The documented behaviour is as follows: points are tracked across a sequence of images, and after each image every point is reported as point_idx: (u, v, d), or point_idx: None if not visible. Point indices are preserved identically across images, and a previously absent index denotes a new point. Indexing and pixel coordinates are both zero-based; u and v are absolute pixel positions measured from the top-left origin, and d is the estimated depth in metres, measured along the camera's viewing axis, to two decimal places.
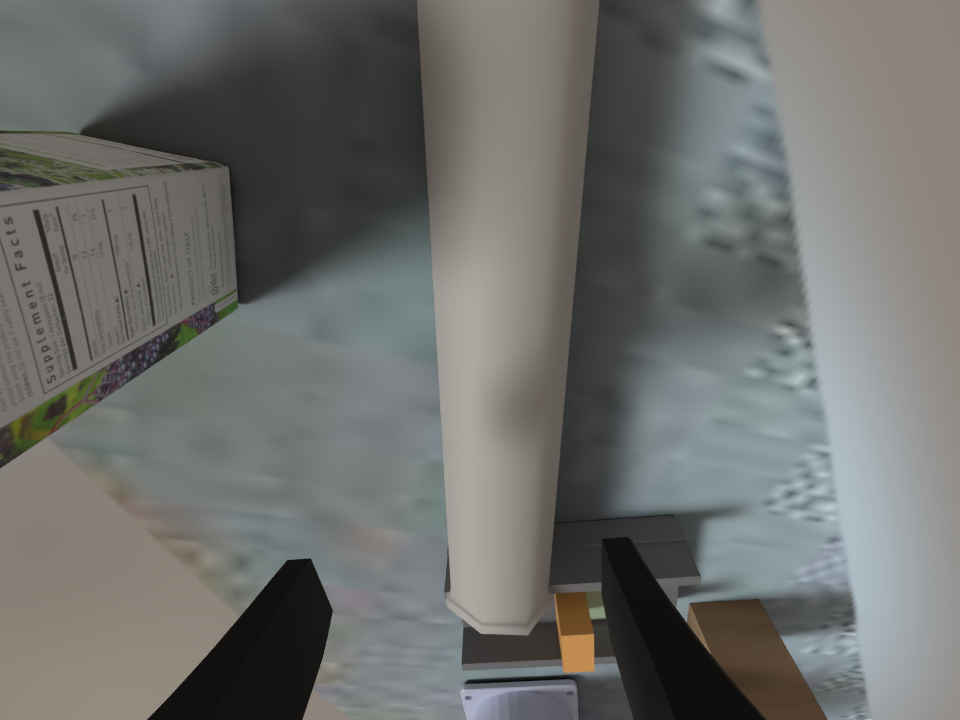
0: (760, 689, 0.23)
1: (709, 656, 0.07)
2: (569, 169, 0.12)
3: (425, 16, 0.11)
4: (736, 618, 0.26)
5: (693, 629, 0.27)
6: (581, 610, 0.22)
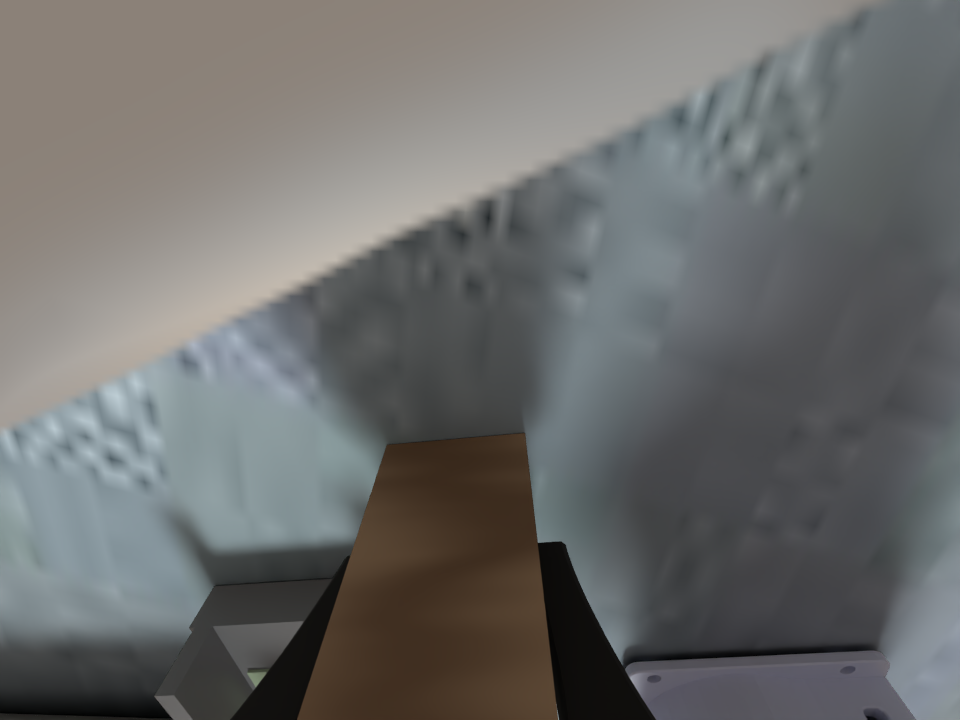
0: None
1: (615, 661, 0.08)
2: None
3: None
4: None
5: None
6: None
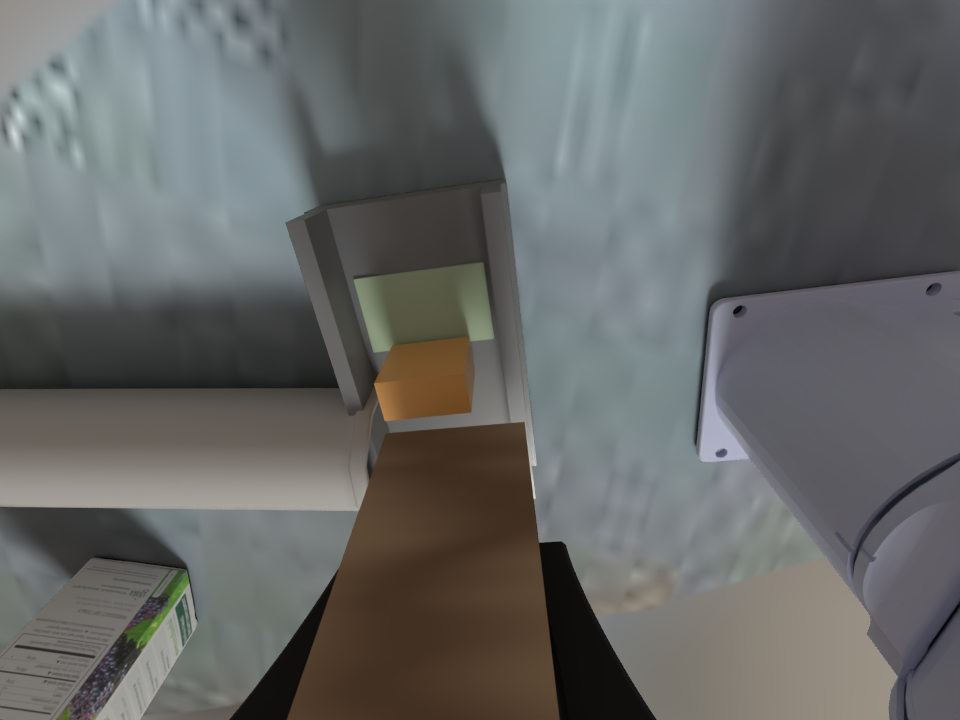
0: None
1: (615, 661, 0.08)
2: None
3: None
4: None
5: None
6: None
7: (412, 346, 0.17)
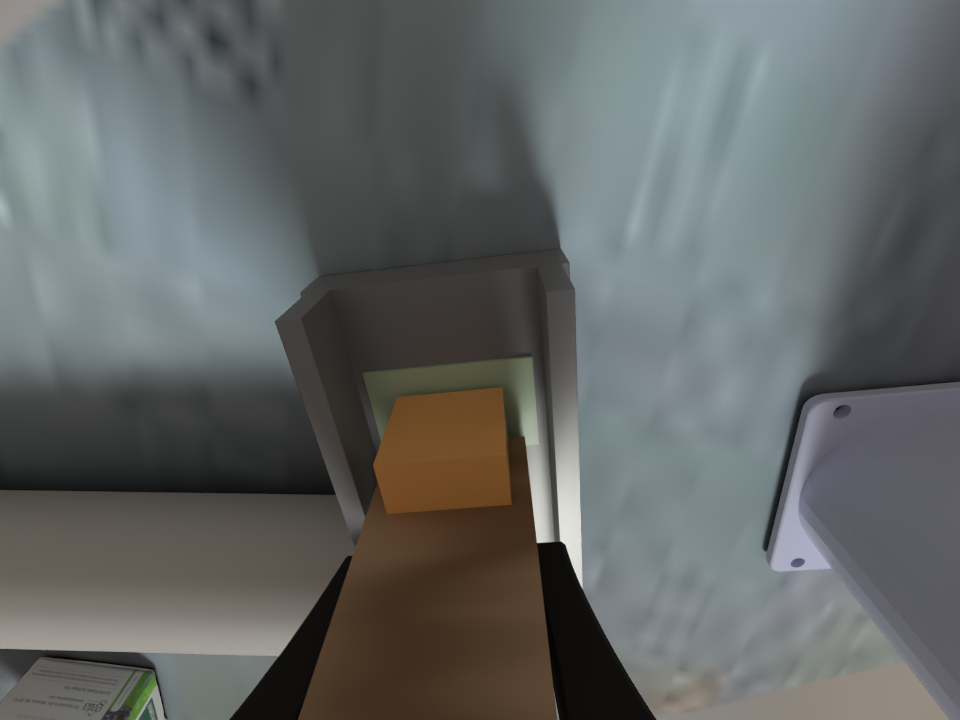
0: None
1: (615, 661, 0.08)
2: None
3: None
4: None
5: None
6: None
7: (425, 400, 0.12)
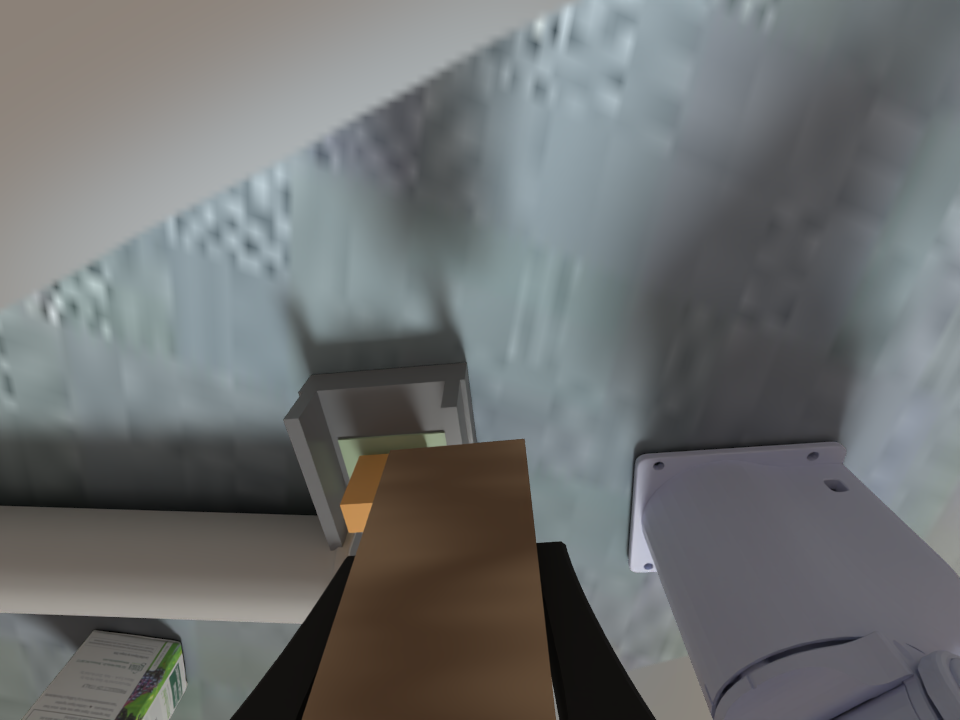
0: None
1: (615, 661, 0.08)
2: None
3: None
4: None
5: None
6: None
7: (377, 458, 0.19)
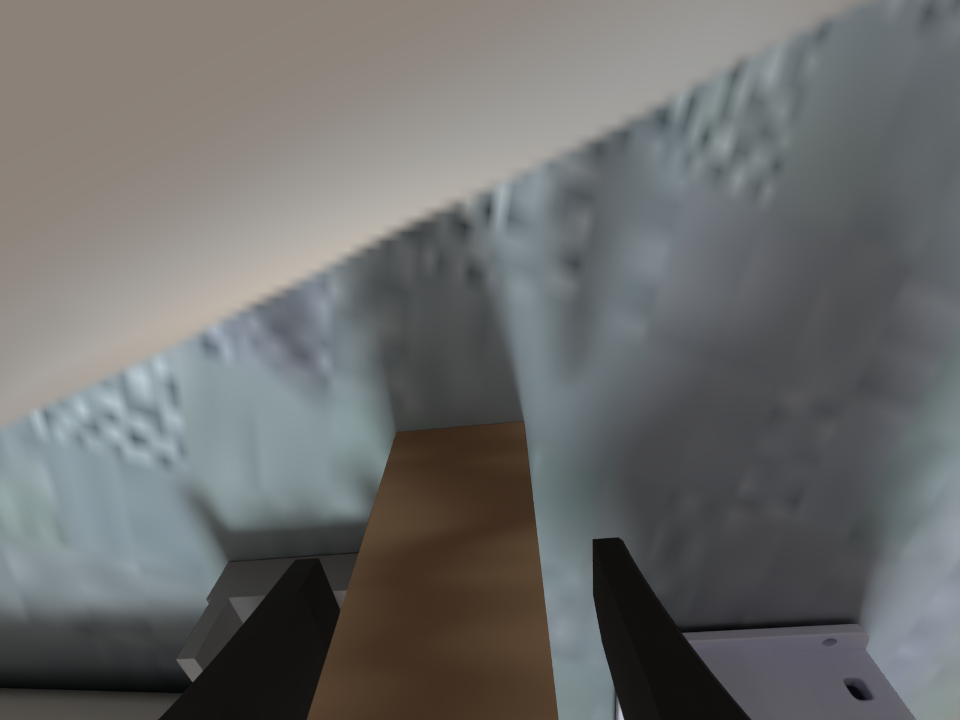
0: None
1: (697, 657, 0.07)
2: None
3: None
4: None
5: None
6: None
7: None
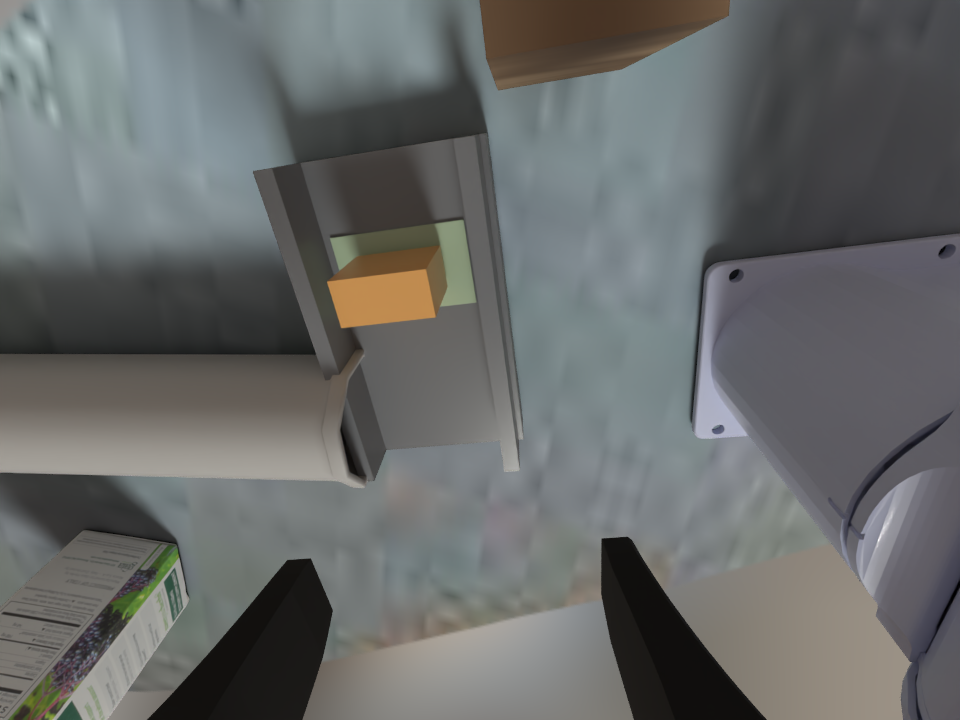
0: None
1: (709, 656, 0.07)
2: None
3: None
4: None
5: (535, 81, 0.14)
6: None
7: (377, 255, 0.15)
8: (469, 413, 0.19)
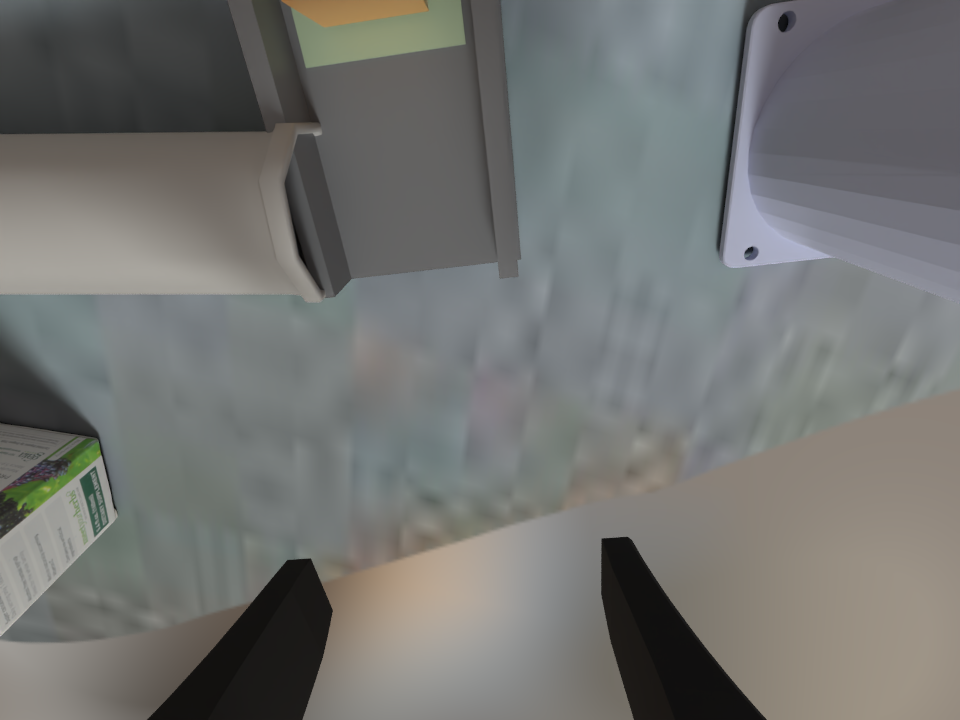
0: None
1: (709, 656, 0.07)
2: None
3: None
4: None
5: None
6: None
7: None
8: (455, 221, 0.15)
